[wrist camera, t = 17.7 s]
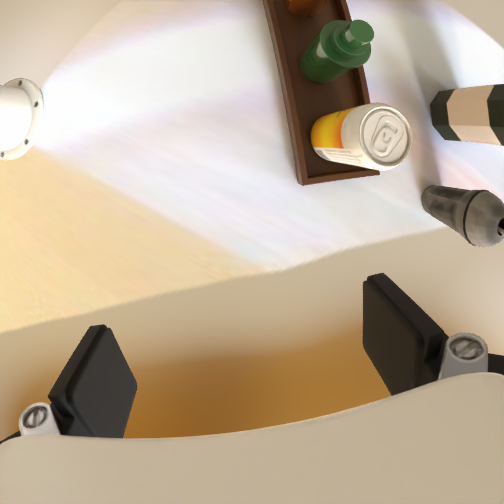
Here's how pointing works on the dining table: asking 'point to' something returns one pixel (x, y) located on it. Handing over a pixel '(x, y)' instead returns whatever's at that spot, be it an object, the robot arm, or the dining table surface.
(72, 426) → the robot arm
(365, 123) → the beer can
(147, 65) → the dining table surface
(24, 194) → the dining table surface
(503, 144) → the wine bottle
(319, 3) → the amber bottle
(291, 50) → the tray
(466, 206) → the beverage cup
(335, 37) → the green bottle
